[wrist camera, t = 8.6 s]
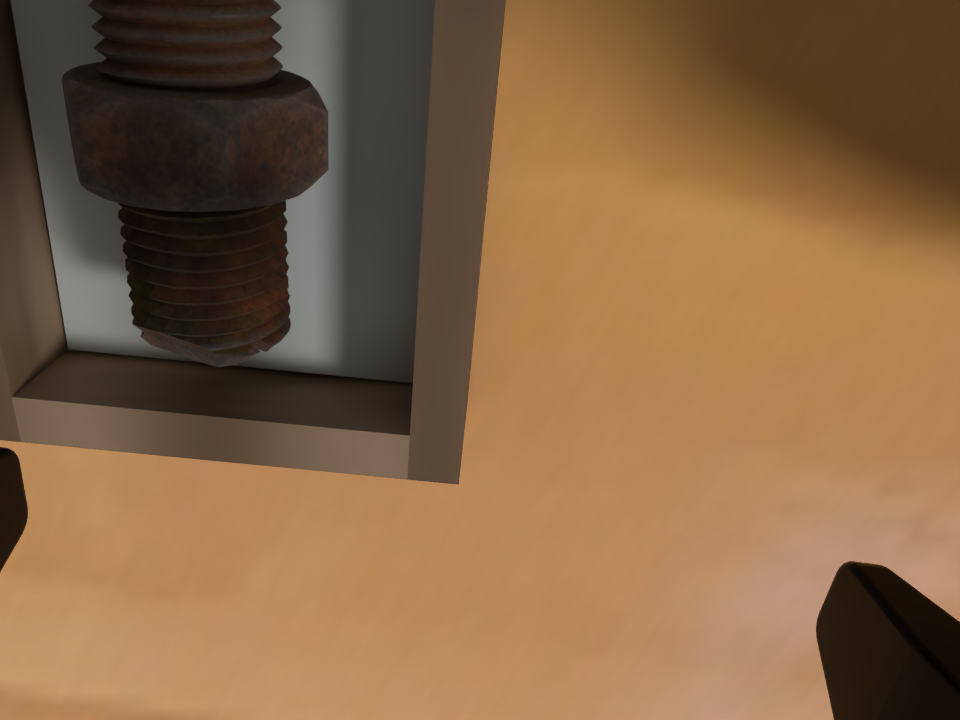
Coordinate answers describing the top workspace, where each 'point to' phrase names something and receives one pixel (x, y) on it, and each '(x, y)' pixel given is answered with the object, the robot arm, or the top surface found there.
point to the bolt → (198, 166)
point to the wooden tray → (311, 259)
